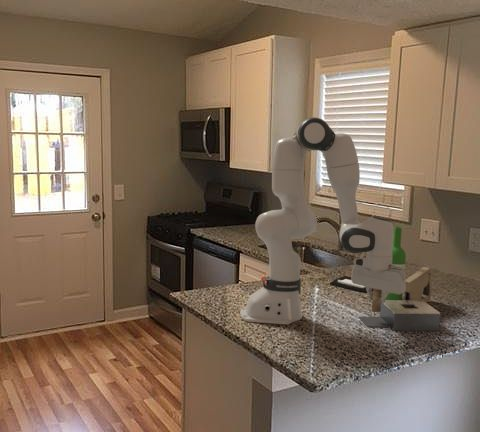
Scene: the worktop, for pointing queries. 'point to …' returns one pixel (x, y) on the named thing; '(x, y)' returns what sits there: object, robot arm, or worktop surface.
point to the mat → (374, 321)
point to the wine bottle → (397, 259)
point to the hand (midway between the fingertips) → (376, 301)
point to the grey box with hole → (410, 315)
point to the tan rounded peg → (376, 300)
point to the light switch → (348, 284)
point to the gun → (419, 286)
